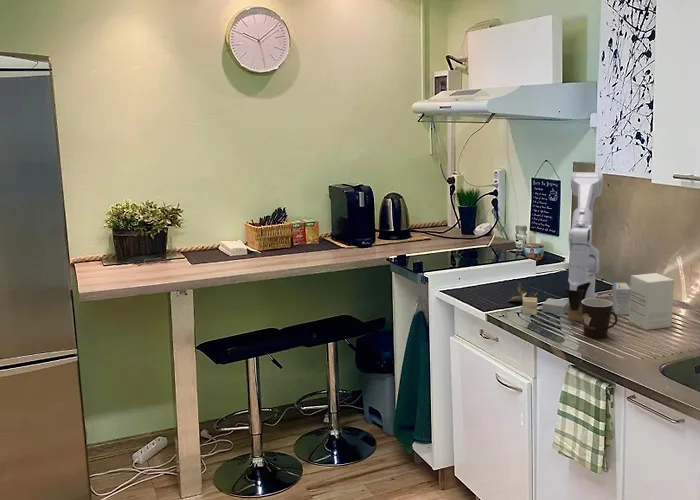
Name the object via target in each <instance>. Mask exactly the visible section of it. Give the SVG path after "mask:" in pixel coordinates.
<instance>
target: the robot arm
mask: <svg viewBox="0 0 700 500" xmlns="http://www.w3.org/2000/svg"><path fill="white" fill-rule="evenodd" d="M570 178H571V179H570V190H571V193H572V195H573V196H575V197H577V208H575V210H574V211H573V213H572V219H571V220H572V221H571V227H570V228H569V230H568V244H569V245H568V246H569V247H568V250H569V256H568V278H567V282H568V284H569V287H568V286H566V287H565V288H564V292H565V294H566V295H567V300H568V301H569V303H570V308H571V310H573V311H578V309H579V305H580V303H581V301H582V300H584V299H589V298H597V296H598V293H596V292H595V291H596V275H595V274H597V273H599V270H600V251H599V249H597V248H596V247H595V246H593V244H592V242H593V240H592V238H593V219H594V218H593V217H594V202H595V199H596V198H598V197H600V196H602V193H603V186H604V183H603V182H604V174H603V172H602V171H600V172H587V171H586V172H582V171H581V172H579V171H578V172H577V171H573V172H572V173H571V176H570Z"/></svg>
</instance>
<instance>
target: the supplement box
mask: <svg viewBox="0 0 700 500" xmlns="http://www.w3.org/2000/svg"><path fill="white" fill-rule="evenodd" d="M674 287H675V280H674V279H673V278H670V277H668V276H664V275H662V274H660V273H657V272H654V273H644V274H643V273H642V274H634V275H630V286H629V288H630V306H629V315H628V322H629V323H631V324H633V325H635V326H637V327H639V328H641V329H644V330H645V331H647V330H648V331H649V330H657V329H664V328H671V327H672V321H673V305H674V303H673V302H674Z"/></svg>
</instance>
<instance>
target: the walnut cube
mask: <svg viewBox="0 0 700 500" xmlns="http://www.w3.org/2000/svg"><path fill="white" fill-rule="evenodd" d="M567 320H569V321H570V320H571V321H576V322H577V321H578V322H583V315H582V303H580V305H579V309H578V311H573V310H571V308H570V305H569V306H568V310H567Z"/></svg>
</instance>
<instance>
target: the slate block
mask: <svg viewBox="0 0 700 500" xmlns="http://www.w3.org/2000/svg"><path fill="white" fill-rule="evenodd" d="M541 305H542V307H541V311H542V312H543V313H551V314H557V315H558V314H559V315H565V314H566V313H568V306H569V305H570V303H569V300H568V299H567V300H566V299H558V298H551V297H550V298H547V299H546V300H545V301H544V302H543V303H542V304H541Z"/></svg>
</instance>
